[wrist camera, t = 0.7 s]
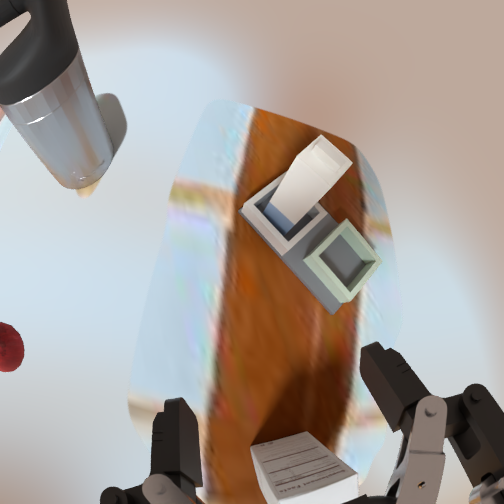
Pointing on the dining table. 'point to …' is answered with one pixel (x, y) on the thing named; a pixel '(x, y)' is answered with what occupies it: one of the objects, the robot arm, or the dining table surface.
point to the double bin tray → (317, 250)
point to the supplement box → (302, 472)
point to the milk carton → (305, 183)
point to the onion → (10, 348)
